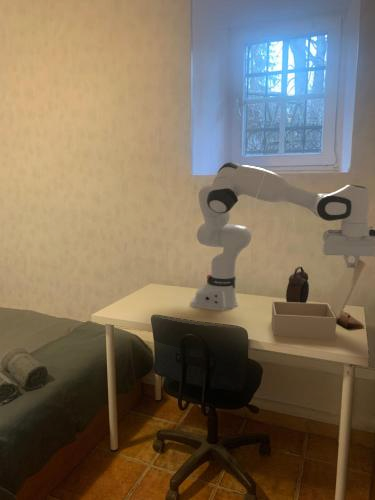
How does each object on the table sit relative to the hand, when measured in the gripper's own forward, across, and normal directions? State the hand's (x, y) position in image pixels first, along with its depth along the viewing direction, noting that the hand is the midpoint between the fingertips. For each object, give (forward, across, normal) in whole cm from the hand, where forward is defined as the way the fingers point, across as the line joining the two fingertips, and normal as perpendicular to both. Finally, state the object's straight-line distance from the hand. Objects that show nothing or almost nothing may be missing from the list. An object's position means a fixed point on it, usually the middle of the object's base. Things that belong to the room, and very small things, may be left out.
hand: (350, 267), depth 140 cm
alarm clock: (+28, -14, +31) cm, 44 cm away
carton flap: (+18, -5, +2) cm, 18 cm away
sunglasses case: (+28, +5, +18) cm, 34 cm away
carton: (+28, -16, +2) cm, 32 cm away
